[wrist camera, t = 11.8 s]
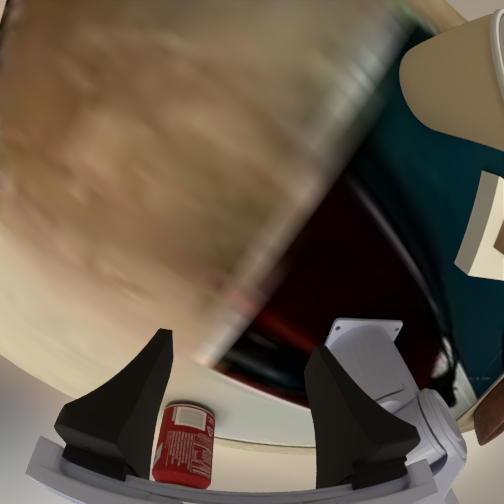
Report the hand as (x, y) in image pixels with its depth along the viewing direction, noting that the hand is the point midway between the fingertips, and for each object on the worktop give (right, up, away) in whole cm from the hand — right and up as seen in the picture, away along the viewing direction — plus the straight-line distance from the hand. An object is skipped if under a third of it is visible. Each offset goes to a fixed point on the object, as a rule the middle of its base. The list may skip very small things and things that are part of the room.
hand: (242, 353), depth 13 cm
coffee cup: (+15, +19, +2) cm, 24 cm away
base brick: (+27, +8, +8) cm, 29 cm away
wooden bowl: (+66, -31, +27) cm, 78 cm away
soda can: (-8, -16, +18) cm, 25 cm away
